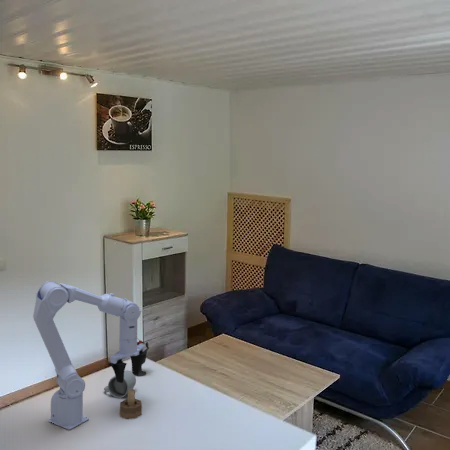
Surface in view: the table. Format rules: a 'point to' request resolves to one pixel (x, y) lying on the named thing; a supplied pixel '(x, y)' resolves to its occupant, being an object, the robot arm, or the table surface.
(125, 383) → the ceramic mug
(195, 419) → the table surface
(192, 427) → the table surface
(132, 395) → the dowel
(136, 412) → the bead
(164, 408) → the table surface
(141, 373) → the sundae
